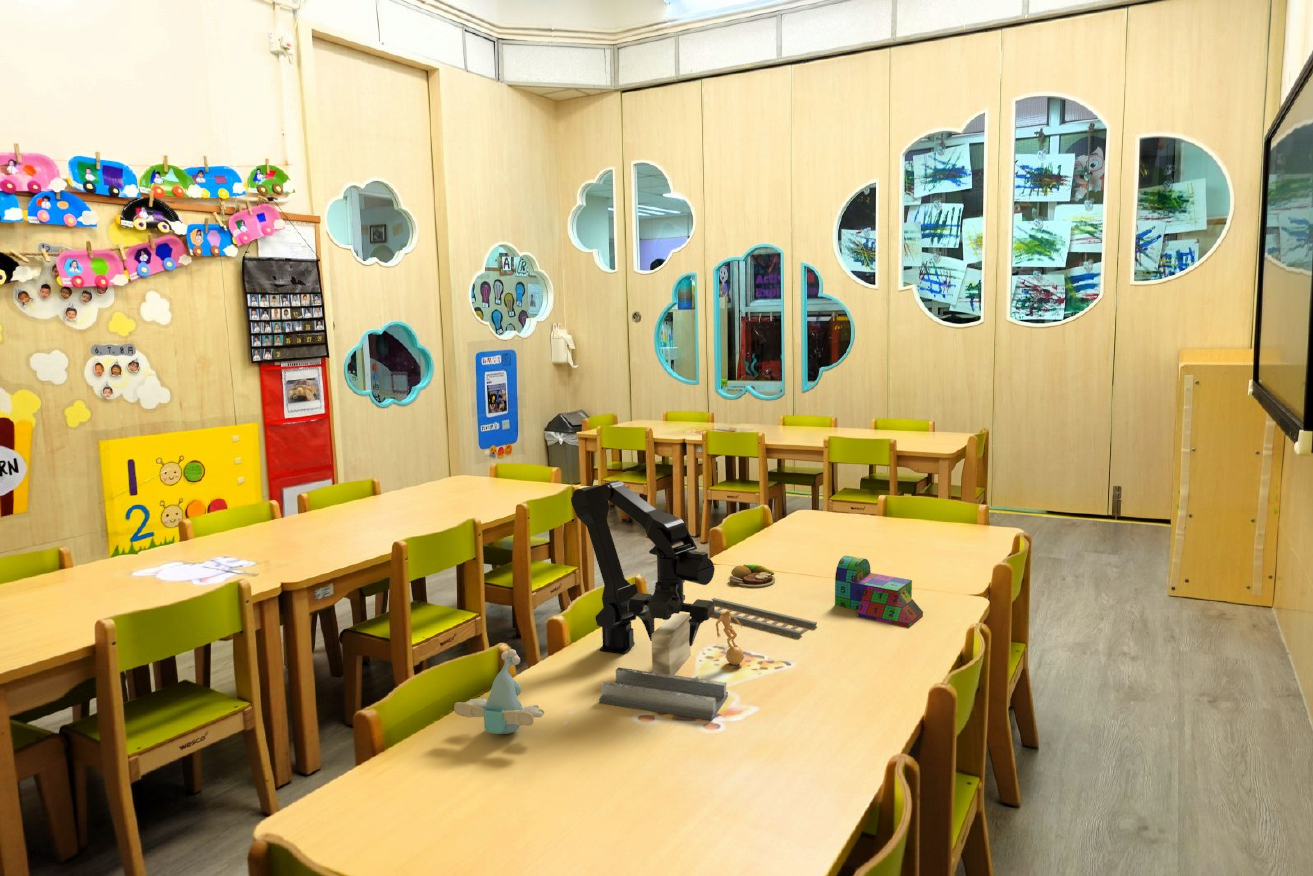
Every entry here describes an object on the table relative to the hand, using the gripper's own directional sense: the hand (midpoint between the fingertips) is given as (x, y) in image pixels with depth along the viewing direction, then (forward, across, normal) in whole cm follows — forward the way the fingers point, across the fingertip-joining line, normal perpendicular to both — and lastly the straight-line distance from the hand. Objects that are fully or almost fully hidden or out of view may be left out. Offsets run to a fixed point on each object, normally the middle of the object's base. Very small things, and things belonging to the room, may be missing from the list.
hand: (671, 643), depth 192 cm
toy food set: (+6, +2, +64) cm, 64 cm away
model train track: (+6, +10, +34) cm, 36 cm away
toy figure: (+6, -20, -38) cm, 43 cm away
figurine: (+6, +12, +6) cm, 15 cm away
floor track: (+5, +4, -16) cm, 17 cm away
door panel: (+6, 0, 0) cm, 6 cm away
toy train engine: (+6, +39, +50) cm, 64 cm away
